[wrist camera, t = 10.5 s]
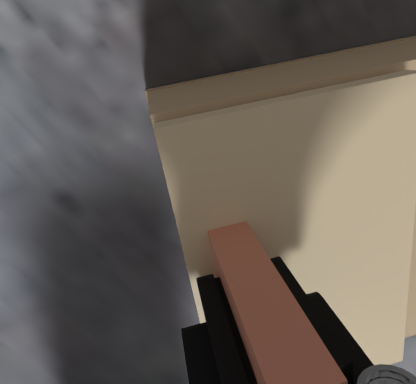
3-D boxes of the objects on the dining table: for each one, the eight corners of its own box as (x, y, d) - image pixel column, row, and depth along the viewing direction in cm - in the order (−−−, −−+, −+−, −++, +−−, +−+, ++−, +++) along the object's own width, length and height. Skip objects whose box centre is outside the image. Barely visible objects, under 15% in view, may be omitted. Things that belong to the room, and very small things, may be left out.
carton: (434, 30, 18) (625, 14, 11) (417, 221, 23) (543, 296, 16) (144, 88, 17) (148, 113, 10) (191, 280, 22) (216, 394, 14)
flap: (406, 70, 10) (749, 87, 4) (389, 345, 15) (547, 529, 9) (152, 123, 9) (171, 228, 4) (218, 396, 14) (272, 633, 8)
